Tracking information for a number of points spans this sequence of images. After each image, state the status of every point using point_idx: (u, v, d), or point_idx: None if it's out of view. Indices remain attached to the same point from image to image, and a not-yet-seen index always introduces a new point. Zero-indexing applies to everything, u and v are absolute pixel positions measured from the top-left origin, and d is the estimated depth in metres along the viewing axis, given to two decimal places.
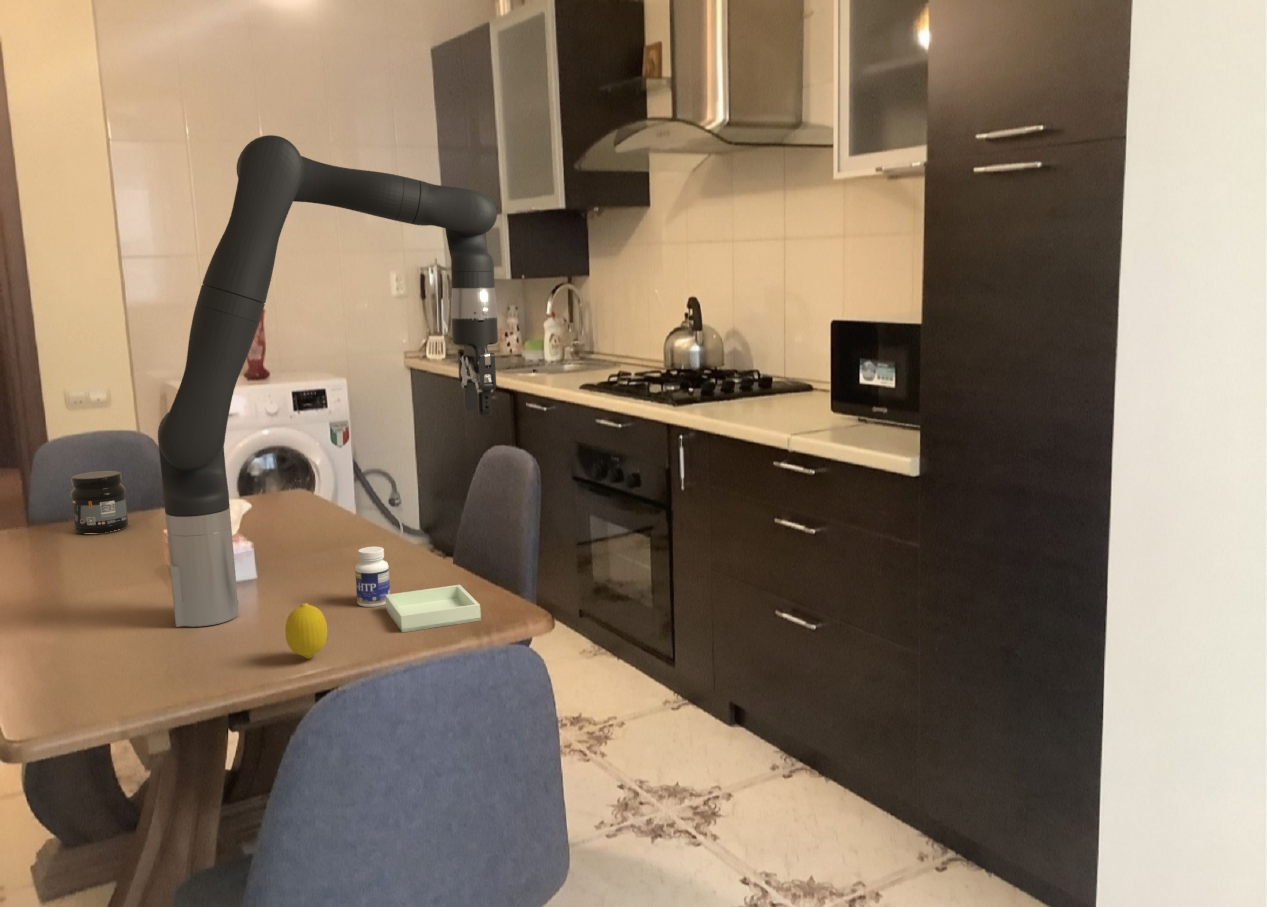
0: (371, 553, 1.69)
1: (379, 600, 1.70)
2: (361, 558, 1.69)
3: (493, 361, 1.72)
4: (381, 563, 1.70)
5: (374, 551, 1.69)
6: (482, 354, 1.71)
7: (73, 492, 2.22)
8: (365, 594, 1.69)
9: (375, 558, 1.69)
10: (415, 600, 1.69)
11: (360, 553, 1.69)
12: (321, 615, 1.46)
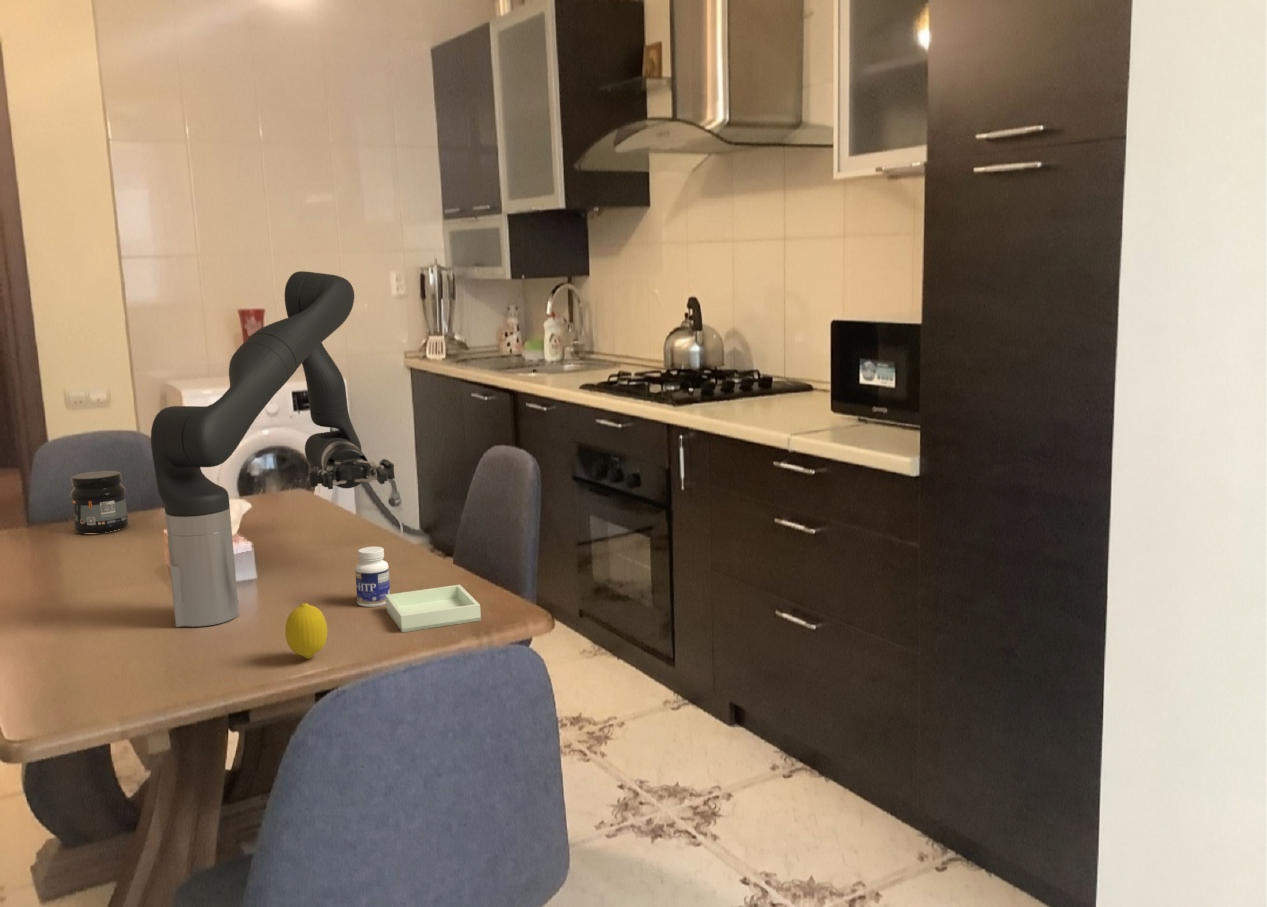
0: (371, 553, 1.69)
1: (379, 600, 1.70)
2: (361, 558, 1.69)
3: None
4: (381, 563, 1.70)
5: (374, 551, 1.69)
6: None
7: (73, 492, 2.22)
8: (365, 594, 1.69)
9: (375, 558, 1.69)
10: (415, 600, 1.69)
11: (360, 553, 1.69)
12: (321, 615, 1.46)
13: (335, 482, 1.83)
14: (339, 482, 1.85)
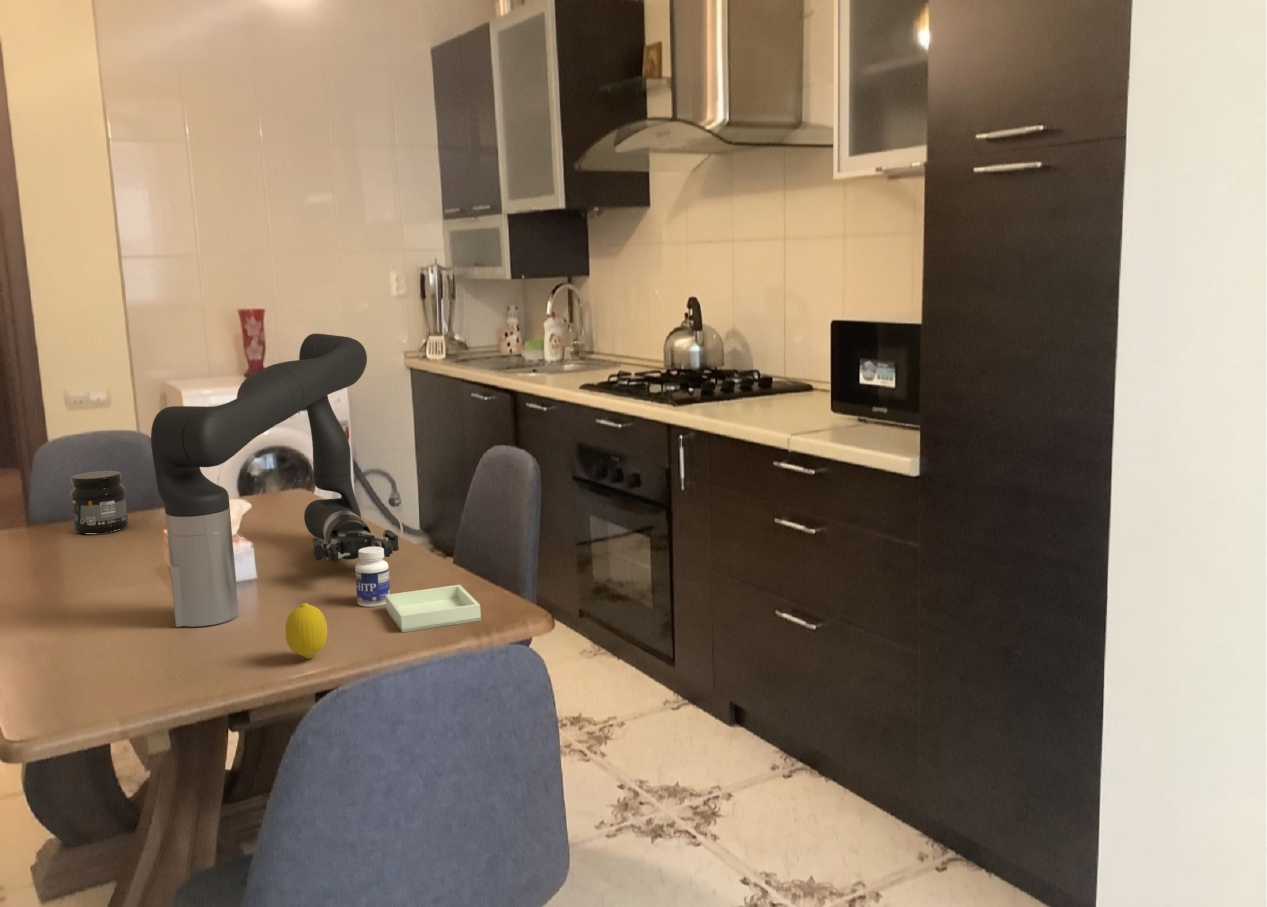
0: (371, 553, 1.69)
1: (379, 600, 1.70)
2: (361, 558, 1.69)
3: None
4: (381, 563, 1.70)
5: (374, 551, 1.69)
6: None
7: (73, 492, 2.22)
8: (365, 594, 1.69)
9: (375, 558, 1.69)
10: (415, 600, 1.69)
11: (360, 553, 1.69)
12: (321, 615, 1.46)
13: (339, 555, 1.83)
14: (343, 554, 1.84)
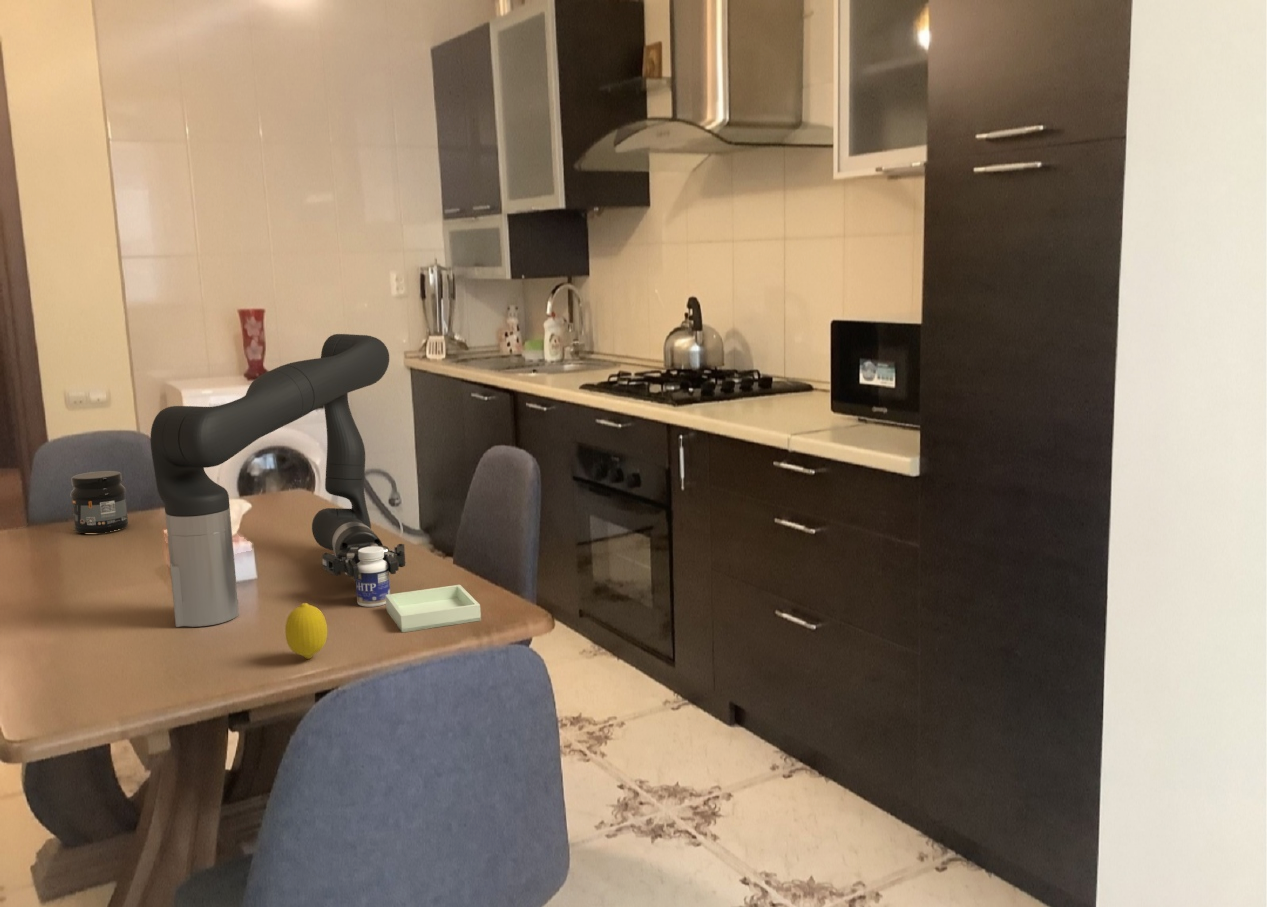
0: (371, 553, 1.69)
1: (379, 600, 1.70)
2: (361, 558, 1.69)
3: None
4: (381, 563, 1.70)
5: (374, 551, 1.69)
6: None
7: (73, 492, 2.22)
8: (365, 594, 1.69)
9: (375, 557, 1.69)
10: (415, 600, 1.69)
11: (360, 553, 1.69)
12: (321, 615, 1.46)
13: None
14: None
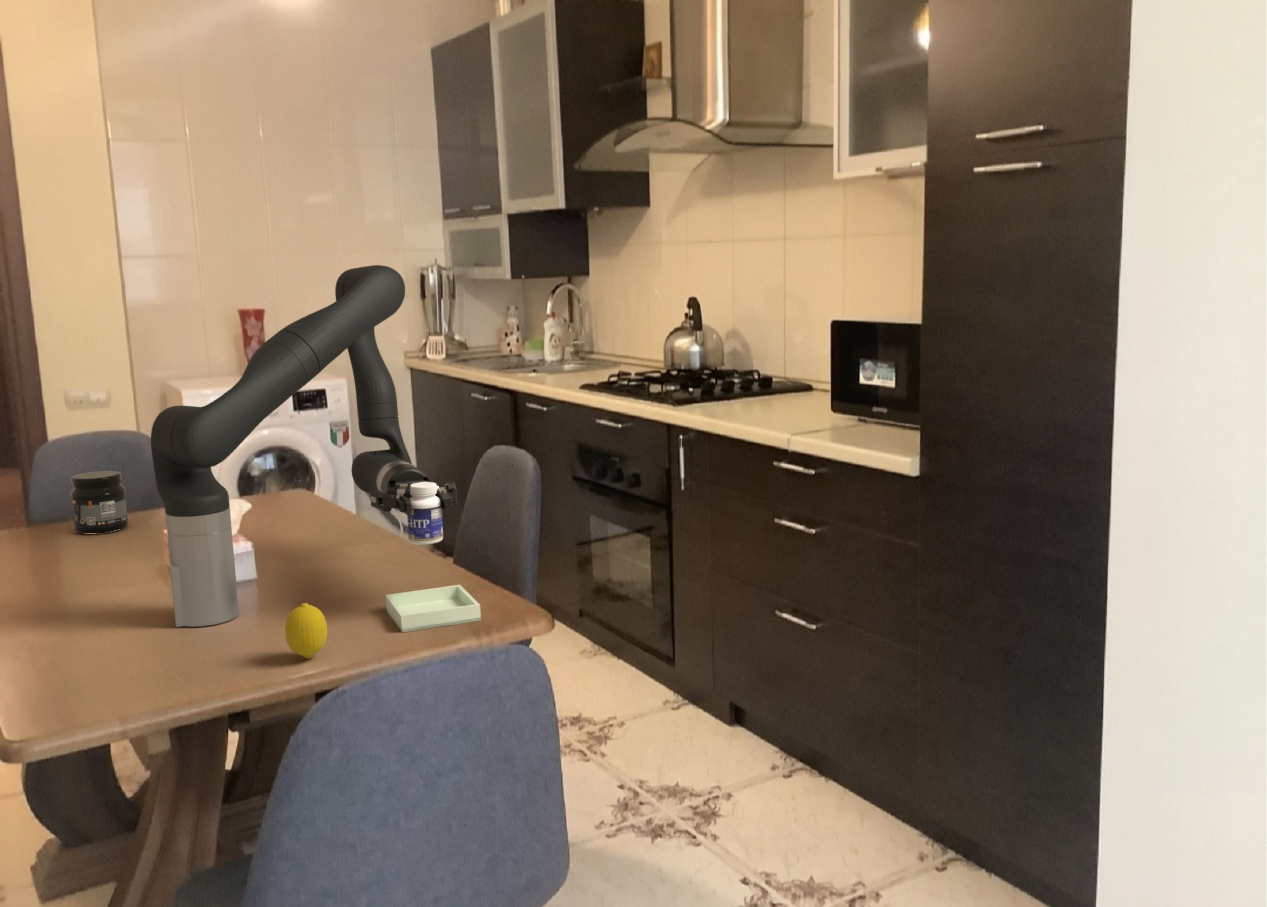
0: (424, 488, 1.61)
1: (432, 537, 1.62)
2: (413, 493, 1.61)
3: None
4: (434, 499, 1.62)
5: (427, 486, 1.61)
6: None
7: (73, 492, 2.22)
8: (418, 531, 1.61)
9: (428, 492, 1.61)
10: (415, 600, 1.69)
11: (412, 488, 1.61)
12: (321, 615, 1.46)
13: None
14: None
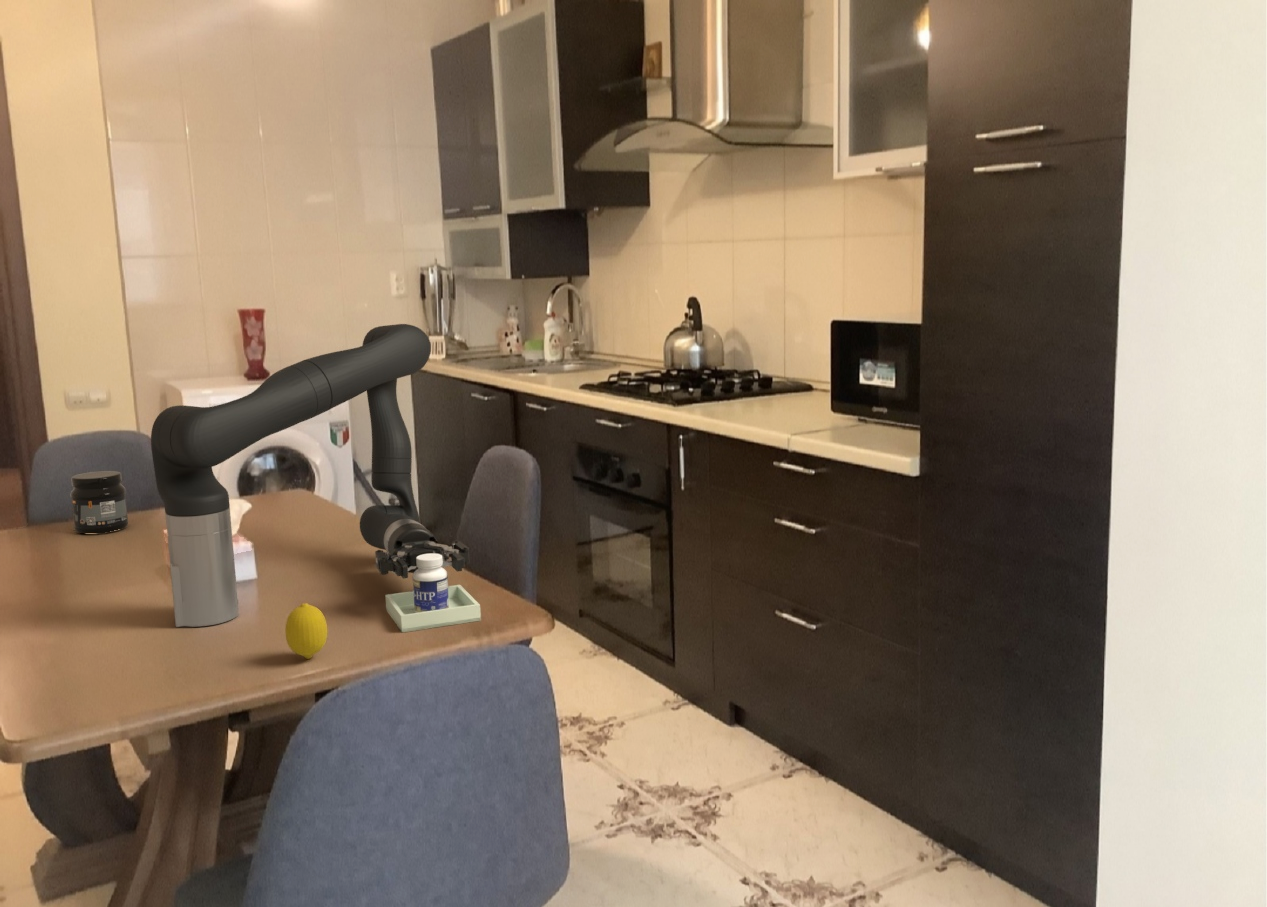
0: (430, 560, 1.62)
1: (438, 609, 1.63)
2: (419, 566, 1.62)
3: None
4: (440, 571, 1.63)
5: (433, 558, 1.62)
6: None
7: (73, 492, 2.22)
8: (424, 604, 1.62)
9: (434, 565, 1.62)
10: None
11: (418, 560, 1.62)
12: (321, 615, 1.46)
13: None
14: (410, 568, 1.68)
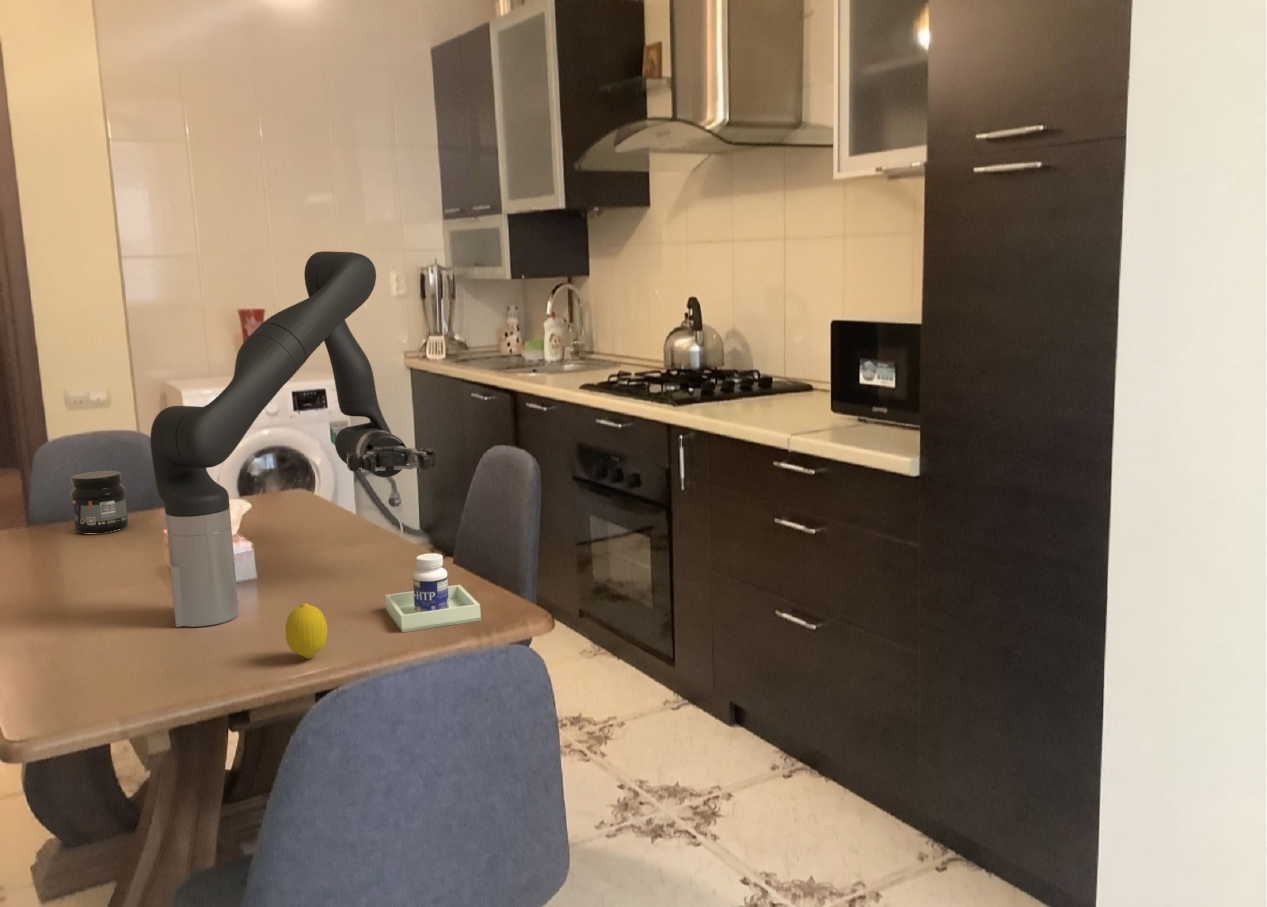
0: (430, 560, 1.62)
1: (438, 609, 1.63)
2: (420, 565, 1.62)
3: None
4: (440, 571, 1.63)
5: (433, 558, 1.62)
6: None
7: (73, 492, 2.22)
8: (424, 603, 1.62)
9: (434, 565, 1.62)
10: None
11: (419, 560, 1.62)
12: (321, 615, 1.46)
13: (375, 468, 1.75)
14: (379, 468, 1.76)
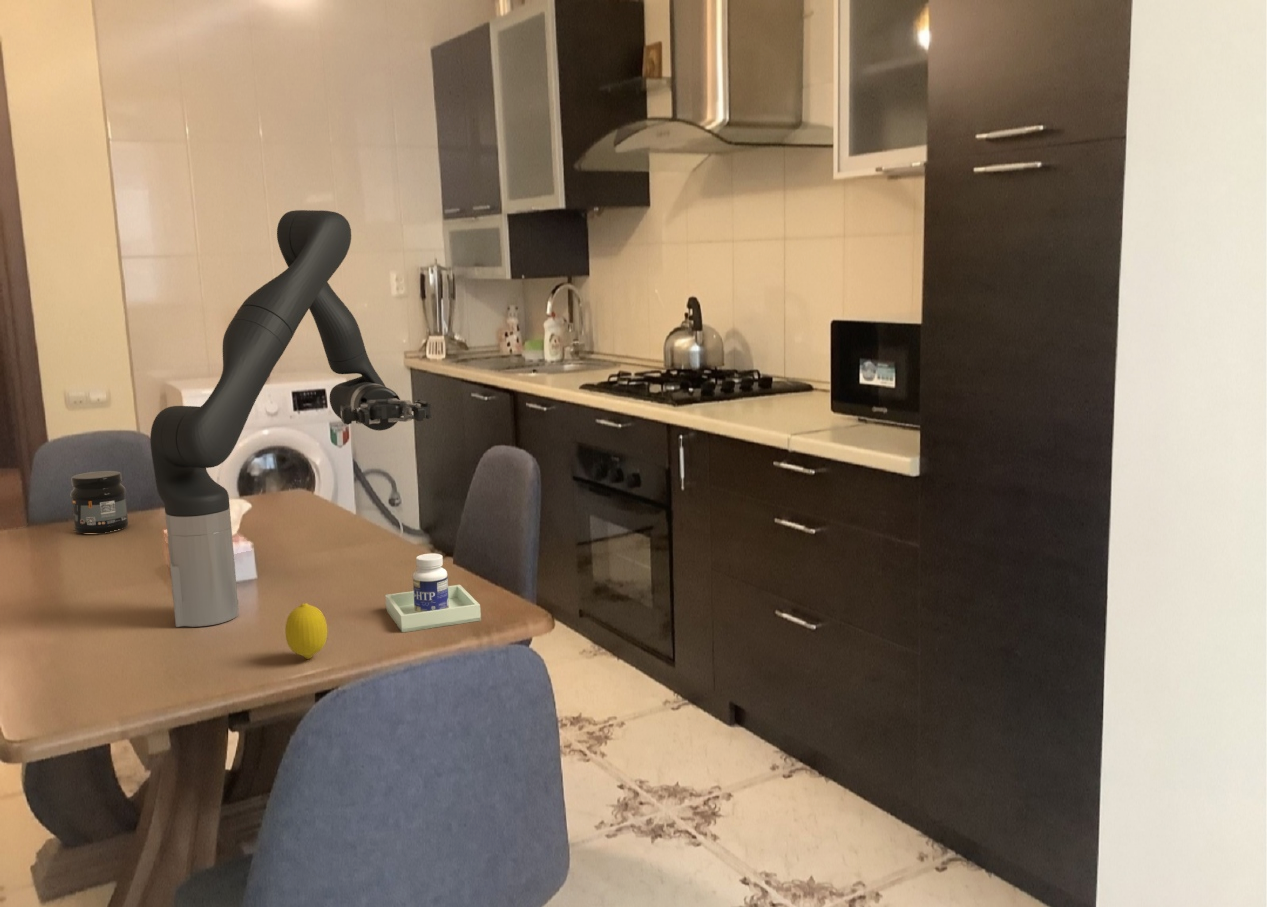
0: (430, 560, 1.62)
1: (438, 609, 1.63)
2: (419, 565, 1.62)
3: None
4: (440, 571, 1.63)
5: (433, 558, 1.62)
6: None
7: (73, 492, 2.22)
8: (424, 604, 1.62)
9: (434, 565, 1.62)
10: None
11: (418, 560, 1.62)
12: (321, 615, 1.46)
13: (369, 420, 1.74)
14: (373, 421, 1.75)
